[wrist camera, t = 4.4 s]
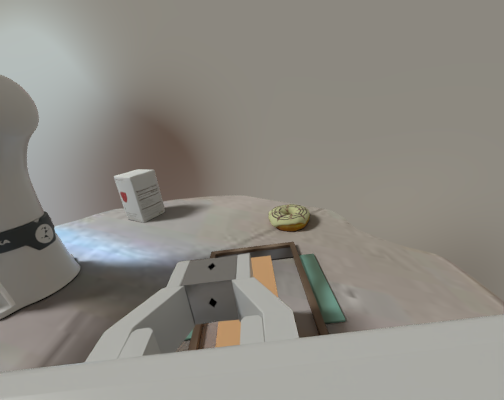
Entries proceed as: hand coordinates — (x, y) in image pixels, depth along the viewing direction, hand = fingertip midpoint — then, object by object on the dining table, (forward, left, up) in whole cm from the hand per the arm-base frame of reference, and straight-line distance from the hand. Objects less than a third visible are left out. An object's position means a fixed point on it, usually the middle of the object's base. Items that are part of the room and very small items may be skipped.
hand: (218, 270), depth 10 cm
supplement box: (-35, +65, -22) cm, 77 cm away
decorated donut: (+10, +47, -22) cm, 53 cm away
